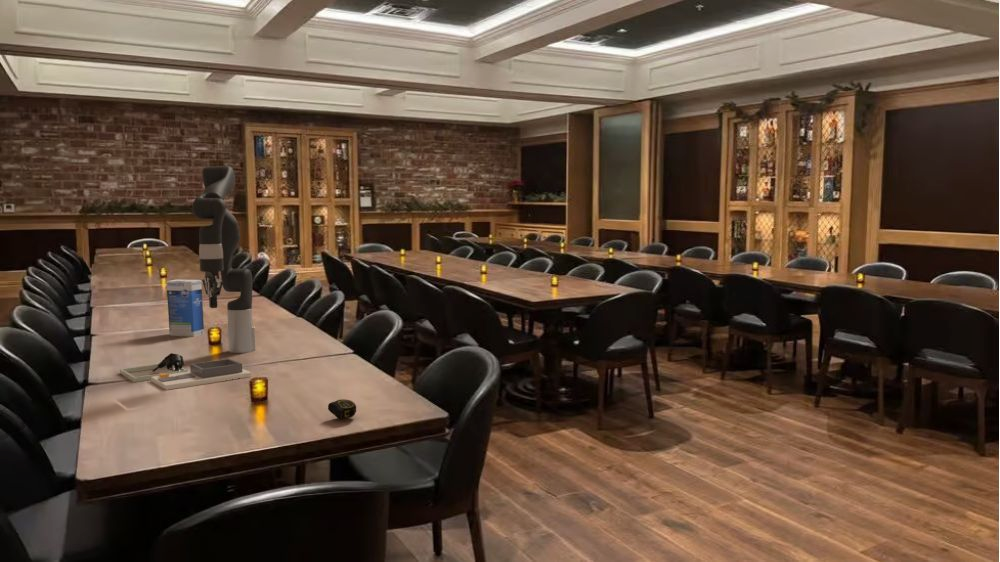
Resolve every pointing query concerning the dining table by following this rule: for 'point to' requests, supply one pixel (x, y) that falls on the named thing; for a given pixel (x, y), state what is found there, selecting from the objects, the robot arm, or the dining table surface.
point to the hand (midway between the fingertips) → (213, 307)
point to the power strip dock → (202, 374)
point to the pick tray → (141, 368)
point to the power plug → (171, 362)
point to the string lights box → (185, 307)
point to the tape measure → (342, 408)
